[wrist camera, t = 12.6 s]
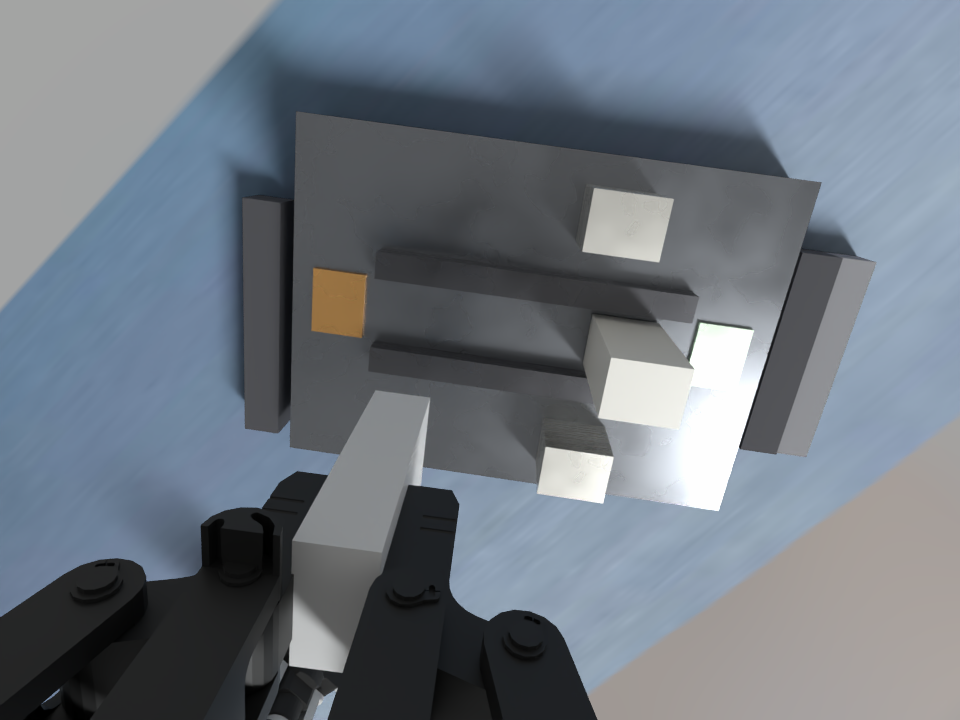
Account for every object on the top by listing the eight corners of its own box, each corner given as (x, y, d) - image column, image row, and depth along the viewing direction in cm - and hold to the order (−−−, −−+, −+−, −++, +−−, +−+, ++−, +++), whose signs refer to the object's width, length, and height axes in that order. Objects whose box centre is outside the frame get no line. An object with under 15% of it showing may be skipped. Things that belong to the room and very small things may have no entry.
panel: (310, 421, 33) (265, 477, 27) (319, 115, 27) (266, 105, 22) (701, 479, 32) (738, 548, 27) (790, 179, 27) (860, 186, 21)
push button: (384, 660, 38) (339, 825, 29) (327, 695, 40) (267, 863, 30) (313, 594, 37) (242, 744, 28) (257, 633, 38) (170, 789, 29)
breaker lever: (582, 363, 27) (598, 418, 22) (592, 313, 27) (611, 357, 21) (646, 372, 27) (678, 429, 22) (658, 322, 26) (695, 369, 21)
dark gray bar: (259, 414, 33) (245, 428, 31) (258, 194, 29) (242, 197, 27) (290, 418, 33) (278, 433, 31) (294, 199, 29) (280, 202, 27)
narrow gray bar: (728, 433, 31) (740, 449, 30) (785, 246, 28) (802, 252, 26) (792, 442, 31) (807, 459, 30) (857, 256, 28) (879, 263, 26)
